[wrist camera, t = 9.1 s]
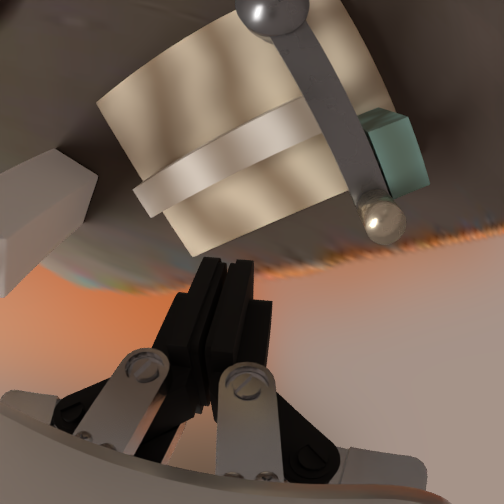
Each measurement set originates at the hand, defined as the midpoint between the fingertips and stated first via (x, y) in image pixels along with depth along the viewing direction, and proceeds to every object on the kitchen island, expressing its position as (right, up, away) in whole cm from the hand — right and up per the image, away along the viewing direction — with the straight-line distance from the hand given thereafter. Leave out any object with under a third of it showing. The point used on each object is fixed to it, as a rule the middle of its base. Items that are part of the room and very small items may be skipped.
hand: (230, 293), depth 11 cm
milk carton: (-21, +9, +21) cm, 31 cm away
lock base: (+1, +13, +16) cm, 21 cm away
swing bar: (+6, +12, +9) cm, 16 cm away
